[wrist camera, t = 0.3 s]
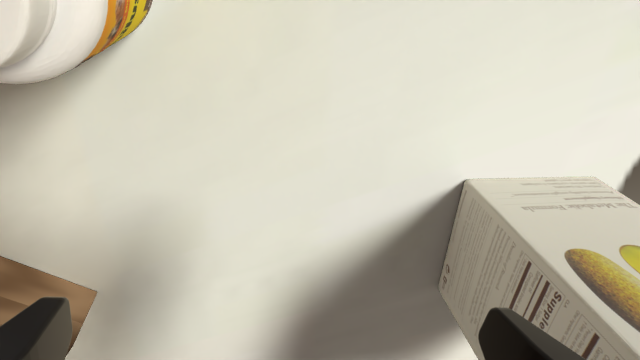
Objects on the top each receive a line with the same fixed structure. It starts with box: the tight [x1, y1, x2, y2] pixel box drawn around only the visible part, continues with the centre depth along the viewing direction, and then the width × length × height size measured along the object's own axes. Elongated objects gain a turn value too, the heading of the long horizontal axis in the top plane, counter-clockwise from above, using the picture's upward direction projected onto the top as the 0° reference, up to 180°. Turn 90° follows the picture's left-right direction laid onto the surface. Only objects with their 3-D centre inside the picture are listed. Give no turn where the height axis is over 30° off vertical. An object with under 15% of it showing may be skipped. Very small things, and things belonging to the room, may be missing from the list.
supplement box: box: [438, 177, 640, 360], centre depth 20 cm, size 10×9×17 cm
